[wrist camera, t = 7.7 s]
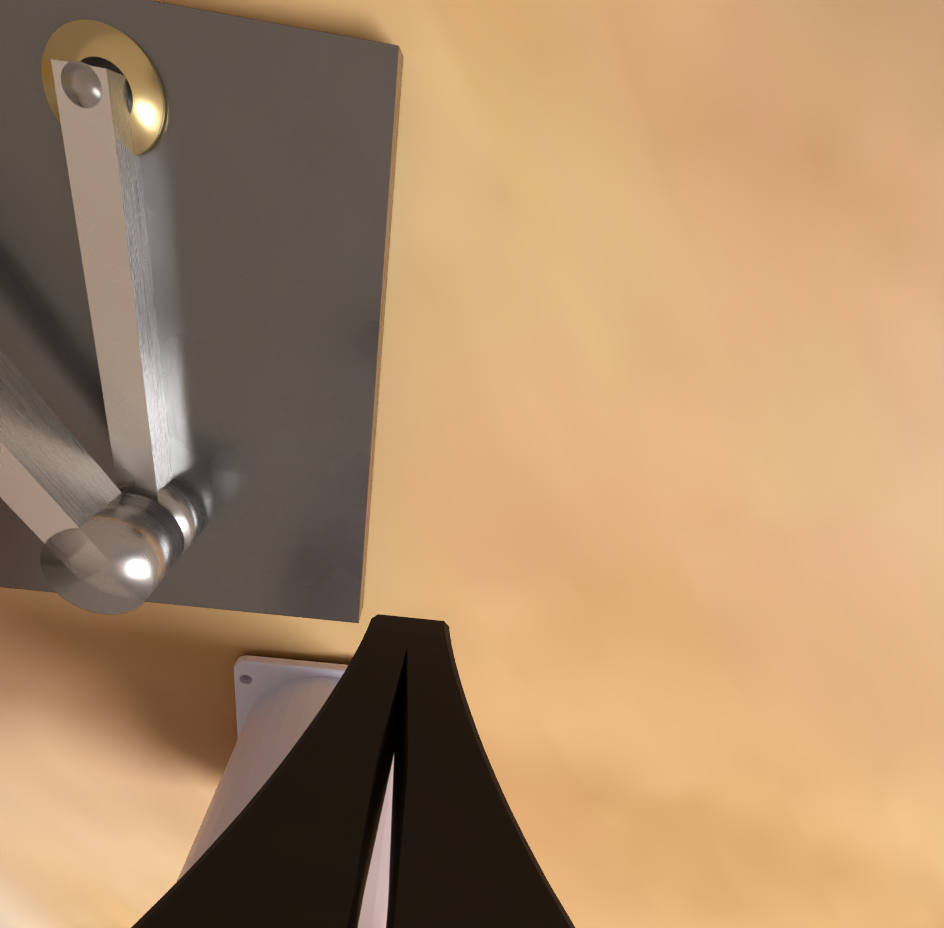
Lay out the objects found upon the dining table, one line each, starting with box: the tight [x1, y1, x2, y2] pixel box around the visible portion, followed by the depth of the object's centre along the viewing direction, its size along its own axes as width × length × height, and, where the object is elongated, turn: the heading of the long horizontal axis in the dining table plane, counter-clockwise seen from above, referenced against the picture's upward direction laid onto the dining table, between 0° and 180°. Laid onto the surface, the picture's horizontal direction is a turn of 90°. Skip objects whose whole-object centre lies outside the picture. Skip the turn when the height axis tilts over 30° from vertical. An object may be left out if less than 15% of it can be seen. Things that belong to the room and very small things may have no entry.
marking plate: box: [0, 0, 403, 623], centre depth 16 cm, size 18×18×2 cm
